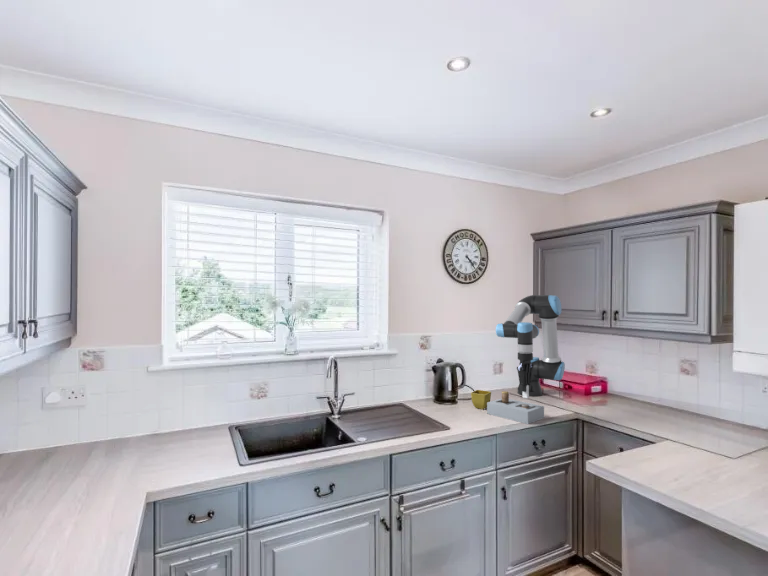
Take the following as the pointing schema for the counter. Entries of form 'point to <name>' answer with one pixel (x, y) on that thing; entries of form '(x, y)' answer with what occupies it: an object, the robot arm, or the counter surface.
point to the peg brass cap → (505, 397)
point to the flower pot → (480, 398)
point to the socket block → (515, 411)
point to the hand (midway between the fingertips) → (525, 397)
